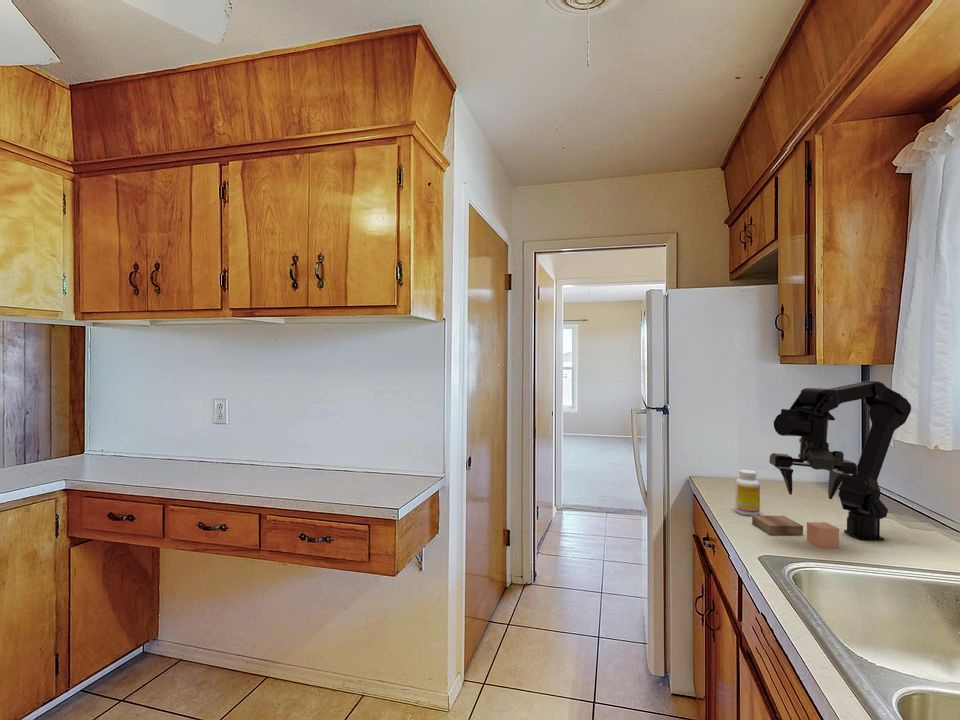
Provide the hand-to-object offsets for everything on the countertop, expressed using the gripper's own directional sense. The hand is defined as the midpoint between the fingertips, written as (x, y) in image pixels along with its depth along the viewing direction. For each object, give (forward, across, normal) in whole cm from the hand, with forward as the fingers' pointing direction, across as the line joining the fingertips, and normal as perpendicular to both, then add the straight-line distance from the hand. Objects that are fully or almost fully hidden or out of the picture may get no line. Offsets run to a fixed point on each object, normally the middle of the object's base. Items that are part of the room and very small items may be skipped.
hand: (810, 496), depth 135 cm
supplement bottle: (+12, -9, +23) cm, 28 cm away
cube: (+12, +3, 0) cm, 12 cm away
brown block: (+12, -5, +9) cm, 16 cm away
